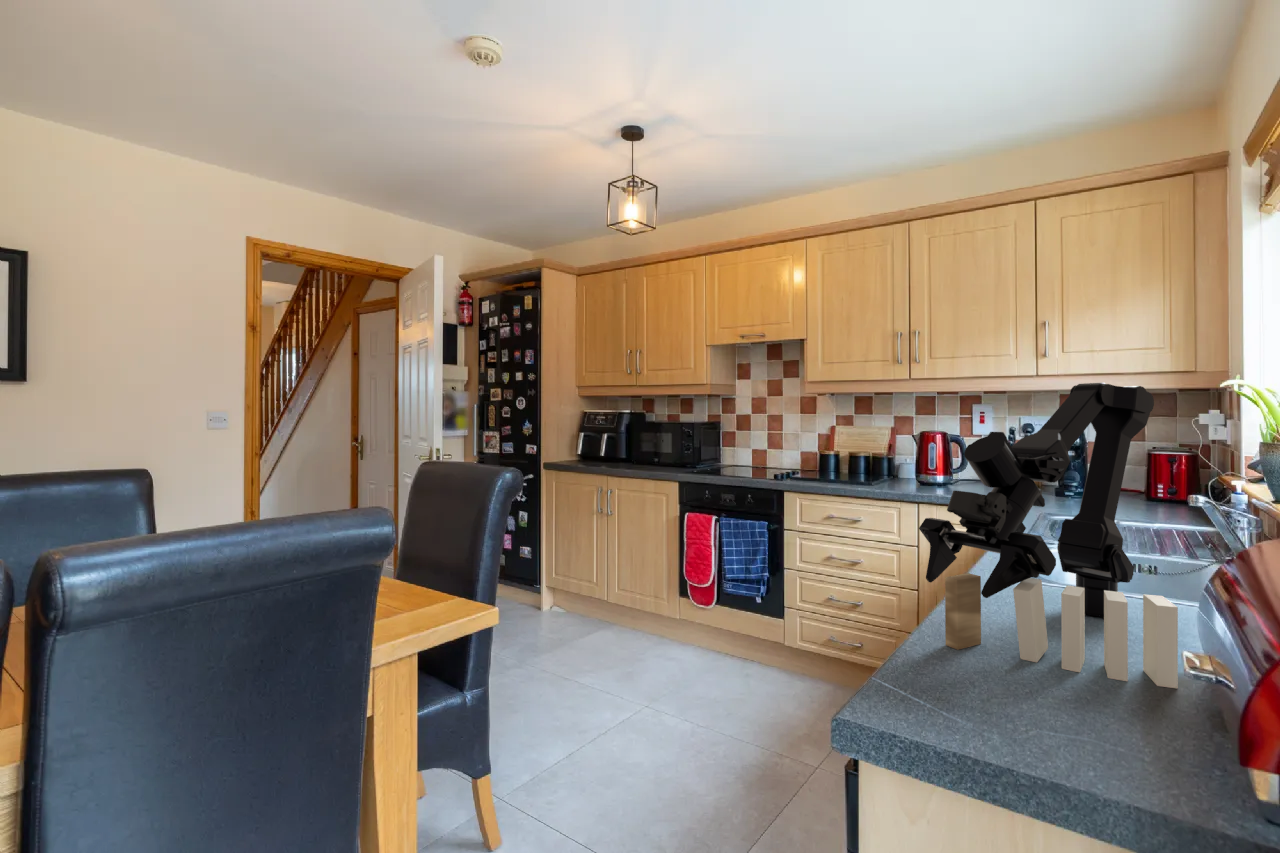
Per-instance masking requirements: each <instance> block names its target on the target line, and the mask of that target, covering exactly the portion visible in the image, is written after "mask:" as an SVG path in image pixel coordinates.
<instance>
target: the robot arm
mask: <svg viewBox="0 0 1280 853" xmlns="http://www.w3.org/2000/svg"><path fill="white" fill-rule="evenodd" d="M1069 392H1070V393H1069V396H1068V397H1067V398H1066V399H1065V400H1064V401H1063V402H1062V403H1061V405H1060V406H1059V407H1058V408H1057V409H1056V411H1055V412H1054V413H1053V414H1052V415H1051V417H1050V418H1049V419H1048V420H1046V422H1045V424H1044V425H1043V426H1042V427H1041V428H1040V429H1039V430H1038V431H1036V432H1034V433H1032V434H1029V435H1027V436H1024V437H1021V438H1020V439H1019V440H1018V441H1017V442H1015V443H1014V444H1012V445H1011V444H1010V442H1009V440H1008V438H1007V436H1006V434H1005V433H1004V431H990V432H989V434H988V435H987V436H983V437H981V438H979V439H977V440H976V439H975V441H973V442H972V443H971V444H968V445H967V446H966V447H965V450H964V454H963V455H964V458H965V459H966V461H967V463H968V464H969V465H970V467H971V468H972V470H973V471H974V473H975V474H976V476H977V477H978V479H979V480H980V482H981V483H982V484H983V485H984V486H985V487H989V488H992V489H991V491H989V492H988V493H987V494H980V493H978V492H977V493H976V492H971V491H961V490H952V494H951V495H950V496H951V497H950V499H949V502H948V506H947V509H946V511H947V512H949V513H950V514H954V515H956V516H958V517H959V518H960V520H959V521H958V522H959V524H960V525H961V527H963V528H965V529H966V530H965V531H962V530H957V529H956V528H955V527H954V525H953V524H952V522H951V521H950V520H947V519H940V518H934V517H926V518H924V520H923V521H922V523H921V524H920V526H919V527H918V529H919V531H920V532H921V533H922V535H923V536H924V537H925V539H926V541H927V542H928V543H929V557H928V562H927V569H926V573H925V579H926V581H927V583H933V582H934V581H936V580H937V579H938V578H939V577H940V576H941V575H942V574H943V573H944V572H945V571H946V570H947V569H948V568H949V567H950V566H951V564H953V563H954V562H955V561H956V560H957V559H958V558H957V556H956V554H958V553H959V552H961V550H962V548H963V546H965V547H969V548H970V547H971V548H974V549H979V550H982V551H986V552H990V553H995V554H999V559H998V561H997V563H996V565H995V567H994V568H993V570H992V572H991V573H990V575H989V577H988V579H987V580H986V581H985V583H984V585H983V587H982V589H981V596H983V598H985V599H988V598H990V597H992V596H994V595H996V594H997V593H1000V592H1002V591H1003V590H1006V589H1007V588H1010V587H1011V586H1014V585H1015V584H1019V583H1020V582H1021V581H1023V580H1026V579H1028V578H1035V579H1038V578H1039V576H1040V575H1041V576H1042V575H1043V576H1045V577H1046V576H1047V577H1049V576H1051V574H1052V573H1053V571H1054V569H1055V568H1056V566H1057V558H1056V557H1055V555H1054V553H1053V552H1052V550H1051V548H1049V546H1048V545H1047V543H1046V542H1045V540H1044V539H1043V537H1042V536H1041V535H1039V534H1038V535H1037V534H1033V533H1032V534H1031V533H1026V532H1025V530H1026V529H1027V527H1026V526H1025V524H1024V523H1023V522H1024V520H1025V519H1026V517H1027V516H1028V515H1029V513H1030V511H1031V509H1033V507H1039V508H1040V507H1041V508H1044V507H1045V506H1046V501H1045V497H1044V496H1043V493H1042V489H1041V488H1039V487H1038V485H1037V484H1036V482H1041V483H1053V484H1054V483H1057V482H1058V481H1059V480H1060V479H1061V478H1063V475H1064V473H1065V472H1066V470H1067V468H1068V466H1069V465H1070V462H1071V461H1070V454H1069V452H1070V449H1071V448H1072V446H1073V445H1074V444H1075V443H1076V442H1077V440H1078V439H1079V438H1080V436H1081V435H1082V434H1083V433H1084V432H1085V430H1086V429H1087V428H1088V427H1089V425H1090V424H1091V426H1092V427H1093V429H1094V432H1095V437H1094V442H1093V446H1092V451H1091V455H1090V461H1089V465H1088V470H1087V474H1086V480H1085V484H1084V488H1083V494H1082V498H1081V502H1080V507H1079V511H1078V513H1077V514H1076V515H1075V516H1074V517H1073V518H1072V519H1069V518H1065V519H1064V520H1063V521H1062V524H1061V530H1060V534H1059V537H1058V539H1057V542H1058V543H1057V547H1056V548H1057V554H1058V557H1059V561H1060V567H1061V570H1062V572H1064V573H1070V574H1075V587H1082V588H1085V616H1087V615H1088V616H1094V617H1100V618H1104V590H1106V591H1115V592H1119V590H1118V587H1119V583H1130V582H1131V580H1133V576H1134V571H1135V566H1134V565H1133V563H1132V561H1131V560H1130V559H1129V557H1128V555H1127V554H1126V553H1125V551H1124V549H1123V545H1124V544H1123V543H1124V538H1123V535H1122V534H1121V531H1120V530H1119V528H1118V526H1117V523H1116V522H1115V520H1116V515H1117V511H1118V505H1119V500H1120V495H1121V489H1122V486H1123V480H1124V475H1125V471H1126V466H1127V462H1128V456H1129V453H1130V448H1131V447H1130V446H1131V441H1132V439H1133V438H1134V437H1135V436H1136V435H1137V434H1139V433H1140V432H1141V431H1142V430H1143V429H1144V428H1145V427H1146V426H1147V425H1148V420H1149V418H1150V414H1151V412H1153V409H1154V405H1155V400H1154V396H1153V394H1152V393H1151V392H1149V391H1147V390H1146V388H1145V387H1144V386H1141V385H1131V386H1130V385H1129V386H1119V385H1113V384H1110V383H1105V382H1090V383H1089V382H1087V383H1086V382H1085V383H1077V384H1076V385H1073V386H1072V387H1071V389H1070V391H1069Z"/></svg>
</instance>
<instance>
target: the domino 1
mask: <svg viewBox="0 0 1280 853" xmlns="http://www.w3.org/2000/svg"><path fill="white" fill-rule="evenodd" d="M981 578H982V577H981V575H977V574H973V573H969V572H967V573H966V572H965V573H963V574H957V575H951V576H946V577H944V595H945V596H944V598H945V599H944V600H945V601H944V604H945V606H944V608H945V611H944V616H945V617H944V618H945V619H944V620H945V621H944V622H945V623H944V624H945V646H946V647H950V648H952V649H955V650H957V651H959V650H962V649H967V648H970V647H974V646H978V645H981V644H982V602H981V601H982V599H981V598H982V597H981V596H982V594H981V592H982V589H981V588H982V584H981V583H982V582H981V580H982V579H981Z"/></svg>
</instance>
